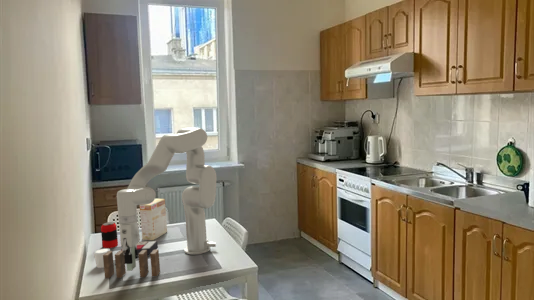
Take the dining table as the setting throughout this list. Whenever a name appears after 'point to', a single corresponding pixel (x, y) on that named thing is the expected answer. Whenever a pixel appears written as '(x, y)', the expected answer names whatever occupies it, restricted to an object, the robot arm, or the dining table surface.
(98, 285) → the dining table surface
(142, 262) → the domino
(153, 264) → the domino
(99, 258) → the white short cylinder
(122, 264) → the domino
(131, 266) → the domino
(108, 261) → the domino
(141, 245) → the black and red box
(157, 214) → the coffeecake box
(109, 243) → the soda can
